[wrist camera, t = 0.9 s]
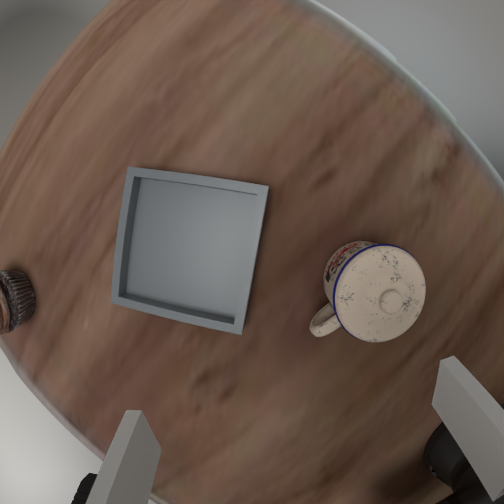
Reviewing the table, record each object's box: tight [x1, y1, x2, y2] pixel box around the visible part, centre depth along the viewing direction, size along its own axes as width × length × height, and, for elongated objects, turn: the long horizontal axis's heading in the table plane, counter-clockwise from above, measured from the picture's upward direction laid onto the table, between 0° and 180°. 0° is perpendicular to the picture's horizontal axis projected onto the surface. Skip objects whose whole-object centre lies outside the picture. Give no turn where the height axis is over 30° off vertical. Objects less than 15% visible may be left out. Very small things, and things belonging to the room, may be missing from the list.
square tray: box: [111, 167, 270, 335], centre depth 34 cm, size 16×16×3 cm
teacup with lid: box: [310, 241, 426, 342], centre depth 29 cm, size 12×9×12 cm
